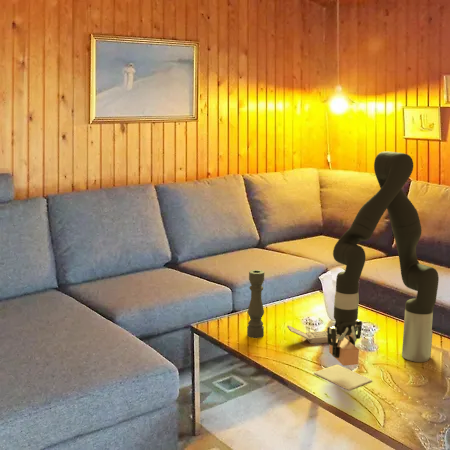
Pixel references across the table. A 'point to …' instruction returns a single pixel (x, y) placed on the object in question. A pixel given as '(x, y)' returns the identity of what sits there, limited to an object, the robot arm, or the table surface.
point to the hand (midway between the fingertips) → (343, 354)
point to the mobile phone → (313, 335)
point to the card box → (347, 353)
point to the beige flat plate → (342, 377)
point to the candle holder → (255, 305)
